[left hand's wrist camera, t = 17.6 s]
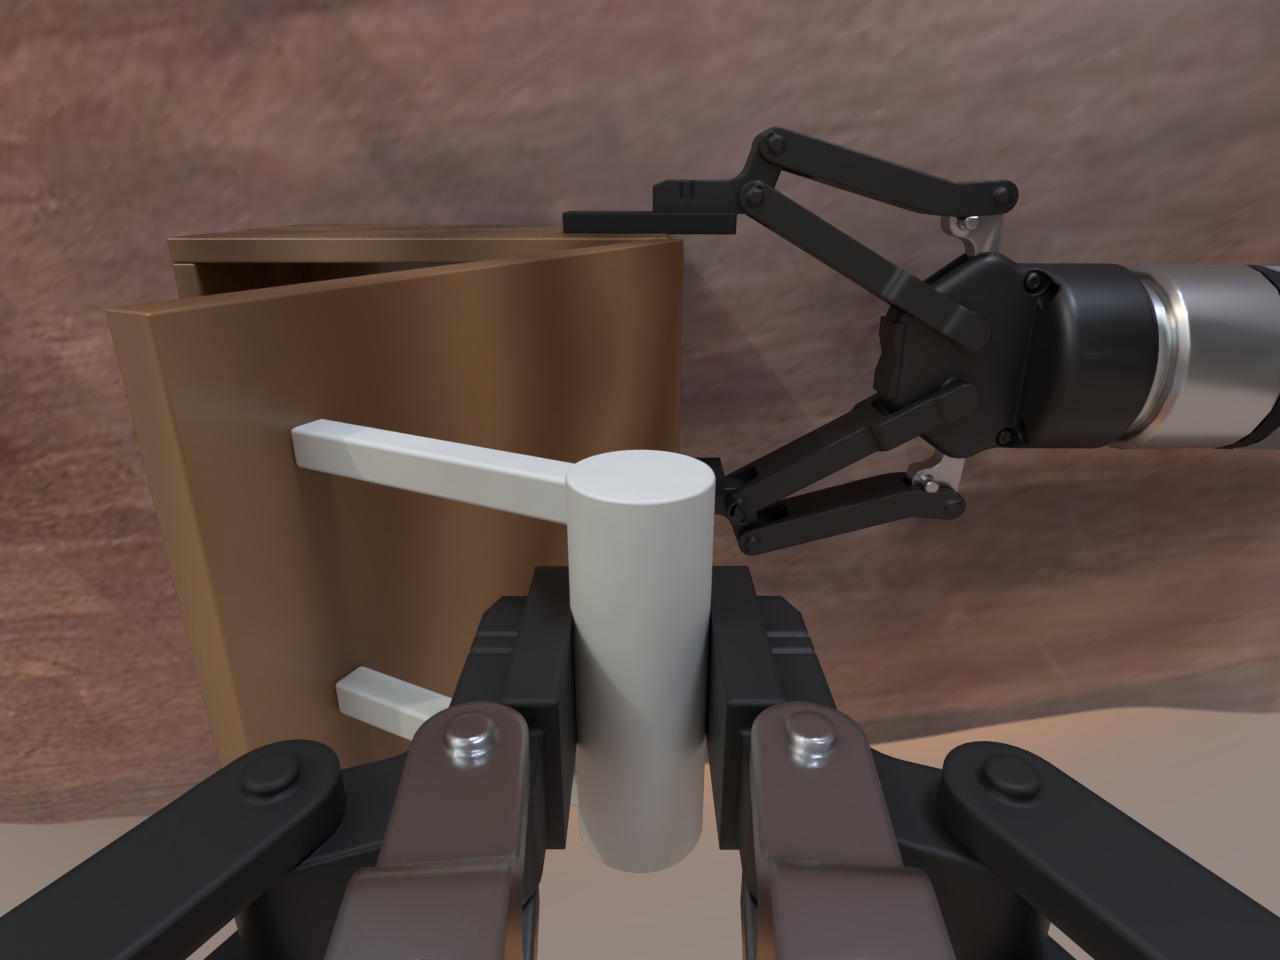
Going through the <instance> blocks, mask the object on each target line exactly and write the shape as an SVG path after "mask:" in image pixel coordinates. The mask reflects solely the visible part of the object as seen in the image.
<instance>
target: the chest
mask: <svg viewBox="0 0 1280 960" xmlns="http://www.w3.org/2000/svg"><path fill="white" fill-rule="evenodd" d="M650 239H669V237H668V235H667V234H593V233H563V225H289V226H279V227H269V228H259V229H249V230H239V231H229V232H219V233H209V234H199V235H188V236H178V237H169V238H167V242H168V247H169V252H170V256H171V260H172V262H174V264H173V270H174V274H175V279H176V284H177V288H178V293H179V298H180V299H183V298H191V297H199V296H207V295H214V294H222V293H230V292H238V291H246V290H254V289H262V288H270V287H278V286H286V285H294V284H302V283H309V282H317V281H325V280H333V279H341V278H349V277H357V276H365V275H373V274H381V273H389V272H397V271H405V270H412V269H420V268H428V267H436V266H444V265H452V264H460V263H468V262H476V261H484V260H492V259H500V258H508V257H515V256H523V255H531V254H539V253H547V252H555V251H563V250H571V249H579V248H587V247H595V246H603V245H610V244H618V243H626V242H634V241H642V240H650Z"/></svg>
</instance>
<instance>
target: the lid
mask: <svg viewBox="0 0 1280 960" xmlns="http://www.w3.org/2000/svg"><path fill="white" fill-rule="evenodd" d="M682 285H683V240H682V239H650V240H642V241H634V242H626V243H618V244H610V245H603V246H595V247H587V248H579V249H571V250H563V251H555V252H547V253H539V254H531V255H523V256H515V257H508V258H500V259H492V260H484V261H476V262H468V263H460V264H452V265H444V266H436V267H428V268H420V269H412V270H405V271H397V272H389V273H381V274H373V275H365V276H357V277H349V278H341V279H333V280H325V281H317V282H309V283H302V284H294V285H286V286H278V287H270V288H262V289H254V290H246V291H238V292H230V293H222V294H214V295H207V296H199V297H191V298H183V299H175V300H167V301H159V302H151V303H143V304H135V305H127V306H119V307H111V308H108V309H106V315H107V319H108V323H109V327H110V331H111V335H112V339H113V343H114V347H115V351H116V355H117V359H118V363H119V367H120V371H121V375H122V379H123V383H124V387H125V391H126V395H127V399H128V403H129V407H130V411H131V415H132V419H133V423H134V427H135V431H136V435H137V438H138V442H139V446H140V450H141V454H142V458H143V462H144V466H145V470H146V474H147V478H148V482H149V486H150V490H151V494H152V498H153V502H154V506H155V510H156V514H157V518H158V522H159V526H160V530H161V534H162V538H163V542H164V546H165V550H166V554H167V557H168V561H169V565H170V569H171V573H172V577H173V581H174V585H175V589H176V593H177V597H178V601H179V605H180V609H181V613H182V617H183V621H184V625H185V629H186V633H187V637H188V641H189V645H190V649H191V653H192V657H193V661H194V665H195V669H196V673H197V676H198V680H199V684H200V688H201V692H202V696H203V700H204V704H205V708H206V712H207V716H208V720H209V724H210V728H211V732H212V736H213V740H214V744H215V748H216V752H217V756H218V760H219V764H220V768H221V769H222V768H223V767H225V766H226V765H228V764H229V763H231V762H232V761H234V760H235V759H237V758H239V757H240V756H242V755H244V754H246V753H248V752H250V751H252V750H254V749H256V748H259V747H262V746H264V745H268V744H271V743H275V742H279V741H285V740H295V739H304V740H313V741H317V742H320V743H323V744H325V745H327V746H328V747H330V748H331V749H332V750H333V751H334V752H335V753H336V755H337V757H338V759H339V764H340V769H346V768H350V767H354V766H359V765H363V764H367V763H372V762H376V761H380V760H384V759H388V758H391V757H394V756H397V755H399V754H402V753H404V752H406V751H407V750H408V749H409V748H410V745H411V742H412V739H413V737H414V734H415V733H416V731H417V730H418V728H419V727H420V726H421V725H422V724H423V723H424V722H425V721H426V720H428V719H429V718H430V717H431V716H433V715H435V714H436V713H438V712H440V711H442V710H444V709H446V708H449V705H450V702H451V700H452V697H453V694H454V691H455V689H456V686H457V683H458V681H459V678H460V675H461V672H462V670H463V667H464V664H465V662H466V659H467V656H468V653H470V648H471V645H472V642H473V640H474V637H476V632H477V629H478V626H479V623H480V621H481V618H482V615H483V613H484V612H485V611H486V610H487V609H488V608H489V607H491V606H492V605H493V604H494V603H495V602H496V601H497V600H499V599H500V598H501V597H502V596H528V592H529V589H530V585H531V581H532V578H533V574H534V570H535V567H536V566H569V587H570V608H571V611H572V619H573V645H574V672H575V699H576V726H577V748H576V757H575V766H574V775H573V784H572V793H571V802H570V804H571V805H574V806H576V807H578V822H579V831H580V836H581V838H582V840H583V842H584V844H585V846H586V847H587V849H588V850H589V851H590V852H591V853H592V855H593V856H595V857H596V858H597V859H598V860H600V861H601V862H603V863H604V864H606V865H608V866H610V867H612V868H615V869H618V870H621V871H626V872H633V873H648V872H655V871H659V870H663V869H666V868H669V867H671V866H673V865H675V864H677V863H678V862H680V861H681V860H683V859H684V858H685V857H686V856H687V855H688V854H689V853H690V852H691V851H692V850H693V848H694V847H695V845H696V844H697V842H698V840H699V838H700V835H701V831H702V817H703V791H704V765H705V740H706V712H707V686H708V660H709V634H710V609H711V585H712V559H713V533H714V507H715V481H716V478H715V474H714V472H713V470H712V469H711V468H710V467H709V466H708V465H707V464H705V463H704V462H702V461H700V460H697V459H695V458H692V457H689V456H686V455H682V454H679V437H680V386H681V336H682Z"/></svg>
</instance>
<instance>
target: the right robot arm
mask: <svg viewBox="0 0 1280 960" xmlns="http://www.w3.org/2000/svg"><path fill="white" fill-rule="evenodd" d="M781 170H782V171H786V172H789V173H792V174H795V175H798V176H801V177H805V178H808V179H811V180H814V181H817V182H820V183H824V184H827V185H830V186H833V187H836V188H839V189H843V190H846V191H849V192H852V193H855V194H858V195H862V196H865V197H868V198H871V199H874V200H877V201H881V202H884V203H887V204H890V205H893V206H896V207H900V208H903V209H906V210H909V211H913V212H917V213H921V214H928V215H938V216H941V228H942V230H943V231H944V233H945V234H947V235H949V236H953V237H957V238H959V239H961V240H962V242H963V243H964V245H965V251H966V253H965V254H963V255H961V256H960V257H958V258H957V259H955V260H954V261H952V262H951V263H949V264H948V265H946V266H945V267H943V268H942V269H940V270H939V271H937V272H936V273H934V274H933V275H931V276H930V277H928V278H927V279H925V280H924V281H921V280H919V279H918V278H916V277H915V276H913V275H911V274H910V273H908V272H906V271H904V270H902V269H900V268H899V267H897V266H895V265H894V264H892V263H891V262H889V261H887V260H886V259H884V258H883V257H881V256H879V255H878V254H876V253H875V252H873V251H872V250H870V249H868V248H867V247H865V246H864V245H862V244H861V243H859V242H857V241H856V240H854V239H853V238H851V237H850V236H848V235H846V234H845V233H843V232H842V231H840V230H838V229H837V228H835V227H834V226H832V225H831V224H829V223H827V222H826V221H824V220H823V219H821V218H820V217H818V216H816V215H815V214H813V213H812V212H810V211H808V210H807V209H805V208H804V207H802V206H801V205H799V204H797V203H796V202H794V201H793V200H791V199H790V198H788V197H786V196H785V195H783V194H782V193H780V192H779V191H777V190H775V189H774V187H775V185H776V182H777V180H778V177H779V175H780V172H781ZM1017 200H1018V189H1017V187H1016V185H1015V184H1014V183H1012V182H1011V181H1007V180H987V181H968V182H952V181H949V180H945V179H942V178H939V177H936V176H933V175H930V174H927V173H924V172H921V171H917V170H914V169H911V168H908V167H905V166H902V165H899V164H896V163H892V162H889V161H886V160H883V159H880V158H877V157H874V156H871V155H868V154H864V153H861V152H858V151H855V150H852V149H849V148H846V147H843V146H839V145H836V144H833V143H830V142H827V141H824V140H821V139H818V138H815V137H811V136H808V135H805V134H802V133H799V132H796V131H793V130H790V129H786V128H783V127H777V126H775V127H772V128H769V129H767V130H765V131H763V132H761V133H760V134H759V135H757V136H756V137H755V139H754V141H753V143H752V148H751V151H750V153H749V156H748V159H747V161H746V164H745V166H744V168H743V170H742V172H741V173H740V174H739V175H738V176H736V177H735V178H733V179H730V180H665V181H663V182H660V183H658V184H656V185H653V211H568V212H564V213H563V233H593V234H736V220H737V214H746V215H747V216H749V217H750V218H752V219H754V220H755V221H757V222H758V223H760V224H762V225H763V226H765V227H766V228H768V229H770V230H771V231H773V232H774V233H776V234H778V235H779V236H781V237H782V238H784V239H786V240H787V241H789V242H791V243H792V244H794V245H795V246H797V247H799V248H800V249H802V250H803V251H805V252H807V253H808V254H810V255H811V256H813V257H815V258H816V259H818V260H819V261H821V262H823V263H824V264H826V265H827V266H829V267H831V268H832V269H834V270H836V271H837V272H839V273H840V274H842V275H844V276H845V277H847V278H848V279H850V280H852V281H853V282H855V283H856V284H858V285H860V286H861V287H863V288H864V289H866V290H867V291H869V292H870V293H872V294H873V295H875V296H876V297H878V298H880V299H881V300H883V301H885V302H886V303H888V304H889V305H891V307H890V308H889V310H888V311H887V313H886V316H881V321H880V330H879V337H880V343H881V350H882V353H881V356H880V359H879V361H878V364H877V367H876V369H875V374H874V383H873V388H874V389H875V390H876V391H877V394H875V395H873V396H871V397H869V398H867V399H865V400H863V401H861V402H859V403H858V404H856V405H855V406H854V407H853V409H852V410H851V411H850V412H848V413H847V414H845V415H843V416H841V417H839V418H837V419H835V420H833V421H831V422H829V423H827V424H825V425H823V426H821V427H820V428H818V429H816V430H814V431H812V432H810V433H808V434H806V435H804V436H802V437H800V438H798V439H796V440H794V441H792V442H791V443H789V444H787V445H785V446H783V447H781V448H779V449H777V450H775V451H773V452H771V453H769V454H767V455H765V456H763V457H762V458H760V459H758V460H756V461H754V462H752V463H750V464H748V465H746V466H744V467H742V468H740V469H738V470H736V471H734V472H732V473H731V474H729V475H727V476H726V477H725V476H724V472H723V468H722V464H721V461H720V458H695V459H697V460H700V461H702V462H704V463H705V464H707V465H708V466H709V467H710V468H711V469H712V470H713V472H714V474H715V478H716V481H715V507H714V514H720V515H723V516H725V517H726V518H727V519H728V520H729V521H730V522H731V524H732V527H733V530H734V533H735V536H736V538H737V541H738V545H739V548H740V550H741V551H742V552H743V553H744V554H746V555H750V556H751V555H758V554H762V553H766V552H770V551H774V550H778V549H782V548H786V547H791V546H795V545H799V544H803V543H807V542H811V541H815V540H819V539H823V538H827V537H831V536H835V535H839V534H843V533H847V532H851V531H855V530H859V529H863V528H867V527H871V526H875V525H880V524H884V523H888V522H892V521H896V520H900V519H904V518H908V517H919V518H933V519H948V520H949V519H955V518H957V517H959V516H960V515H961V514H962V513H963V512H964V510H965V506H966V503H965V500H964V498H963V497H962V496H961V495H960V494H959V493H958V488H959V484H960V479H961V475H962V471H963V467H964V463H965V459H966V458H967V457H971V456H973V455H975V454H977V453H979V452H981V451H984V450H987V449H990V448H996V447H1004V448H1099V447H1103V446H1105V445H1107V446H1109V447H1112V448H1118V449H1171V448H1216V449H1233V448H1244V449H1280V266H1258V265H1224V264H1134V265H1131V266H1128V267H1126V268H1125V267H1123V266H1121V265H1117V264H1024V263H1016V262H1014V261H1012V260H1010V259H1009V258H1007V257H1006V256H1004V255H1002V254H1000V247H1001V237H1002V227H1003V216H1004V213H1007V212H1009V211H1010V210H1011V209H1013V207H1014V206H1015V204H1016V203H1017ZM917 436H920V437H921V438H923V439H924V440H925V441H927V442H928V443H929V444H930V445H932V446H933V447H934V448H936V450H935V453H934V454H933V456H932V457H931V458H929V459H928V460H926V461H922V462H916V463H912V464H911V465H909V467H908V470H907V472H896V473H887V474H882V475H877V476H874V477H870V478H866V479H862V480H858V481H854V482H850V483H846V484H842V485H838V486H834V487H830V488H826V489H822V490H819V491H815V492H811V493H807V494H803V495H799V496H795V497H791V498H787V499H783V498H785V497H787V496H789V495H791V494H793V493H795V492H797V491H799V490H801V489H803V488H805V487H807V486H809V485H810V484H812V483H814V482H816V481H818V480H820V479H822V478H824V477H826V476H828V475H830V474H832V473H834V472H836V471H838V470H840V469H842V468H844V467H846V466H848V465H850V464H852V463H854V462H856V461H858V460H860V459H862V458H864V457H866V456H868V455H870V454H872V453H874V452H877V451H888V450H891V449H893V448H895V447H897V446H899V445H901V444H903V443H905V442H907V441H909V440H911V439H913V438H915V437H917ZM781 499H783V500H781Z"/></svg>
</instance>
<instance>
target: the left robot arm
mask: <svg viewBox="0 0 1280 960" xmlns="http://www.w3.org/2000/svg"><path fill="white" fill-rule="evenodd" d="M706 739H707V748H708V756H709V765H710V773H711V781H712V789H713V798H714V806H715V815H716V823H717V832H718V840H719V848H720V850H739V851H740V857H741V864H742V885H741V927H742V950H743V960H1076V959H1075V958H1074V957H1073V956H1072V955H1070V954H1069V953H1068V952H1067V951H1066V950H1065V949H1064V948H1062V947H1061V946H1060V945H1059V944H1058V943H1057V942H1056V941H1054V940H1053V939H1052V938H1051V937H1050V936H1049V935H1048V930H1049V926H1050V923H1053V924H1054V925H1055V926H1056V927H1057V928H1058V929H1060V930H1061V931H1062V932H1063V933H1064V934H1065V935H1067V936H1068V937H1069V938H1070V939H1071V940H1072V941H1074V942H1075V943H1076V944H1077V945H1078V946H1079V947H1081V948H1082V949H1083V950H1084V951H1085V952H1086V953H1088V954H1089V955H1090V956H1091V957H1092V958H1094V959H1095V960H1280V917H1278V916H1277V915H1275V914H1274V913H1272V912H1271V911H1269V910H1268V909H1266V908H1265V907H1263V906H1262V905H1260V904H1259V903H1257V902H1256V901H1254V900H1253V899H1251V898H1250V897H1248V896H1247V895H1245V894H1244V893H1242V892H1241V891H1240V890H1238V889H1237V888H1235V887H1234V886H1232V885H1231V884H1229V883H1228V882H1226V881H1225V880H1223V879H1222V878H1220V877H1219V876H1217V875H1216V874H1214V873H1213V872H1211V871H1210V870H1208V869H1207V868H1205V867H1204V866H1202V865H1201V864H1199V863H1198V862H1196V861H1195V860H1193V859H1192V858H1190V857H1189V856H1187V855H1186V854H1184V853H1183V852H1182V851H1180V850H1178V849H1177V848H1176V847H1174V846H1173V845H1171V844H1170V843H1168V842H1167V841H1165V840H1164V839H1162V838H1161V837H1159V836H1158V835H1156V834H1155V833H1153V832H1152V831H1150V830H1149V829H1147V828H1146V827H1144V826H1143V825H1141V824H1140V823H1138V822H1137V821H1135V820H1134V819H1132V818H1131V817H1129V816H1128V815H1126V814H1125V813H1123V812H1122V811H1121V810H1119V809H1117V808H1116V807H1115V806H1113V805H1112V804H1110V803H1109V802H1107V801H1106V800H1104V799H1103V798H1101V797H1100V796H1098V795H1097V794H1095V793H1094V792H1092V791H1091V790H1089V789H1088V788H1086V787H1085V786H1083V785H1082V784H1080V783H1079V782H1077V781H1076V780H1074V779H1073V778H1071V777H1070V776H1068V775H1067V774H1065V773H1064V772H1062V771H1061V770H1060V769H1058V768H1057V767H1055V766H1054V765H1052V764H1051V763H1049V762H1047V761H1046V760H1044V759H1042V758H1041V757H1039V756H1037V755H1035V754H1033V753H1031V752H1029V751H1026V750H1024V749H1021V748H1019V747H1015V746H1012V745H1008V744H1004V743H998V742H989V741H978V742H970V743H965V744H962V745H960V746H957V747H956V748H954V749H953V750H951V751H950V752H949V753H948V754H947V756H946V758H945V760H944V764H943V769H938V768H934V767H930V766H925V765H921V764H917V763H912V762H908V761H904V760H900V759H897V758H893V757H891V756H888V755H885V754H883V753H880V752H878V751H876V750H874V749H872V748H871V747H870V745H869V742H868V739H867V737H866V734H865V733H864V731H863V730H862V728H861V727H860V726H859V725H858V724H857V723H856V722H855V721H854V720H852V719H851V718H850V717H849V716H847V715H845V714H844V713H842V712H840V711H838V710H837V708H836V705H835V703H834V700H833V697H832V695H831V692H830V690H829V687H828V684H827V682H826V679H825V676H824V674H823V671H822V668H821V666H820V663H819V660H818V658H817V655H816V654H815V653H814V647H813V644H812V642H811V639H810V637H808V631H807V629H806V626H805V623H804V621H803V618H802V615H801V613H800V612H799V611H798V610H797V609H795V608H794V607H793V606H792V605H791V604H790V603H789V602H787V601H786V600H785V599H784V598H783V597H782V596H756V592H755V589H754V585H753V581H752V578H751V574H750V571H749V568H748V566H712V585H711V609H710V634H709V660H708V686H707V712H706ZM576 748H577V726H576V699H575V672H574V645H573V619H572V611H571V608H570V587H569V566H536V567H535V570H534V574H533V578H532V581H531V585H530V589H529V592H528V596H502V597H501V598H500V599H499V600H497V601H496V602H495V603H494V604H493V605H492V606H491V607H489V608H488V609H487V610H486V611H485V612H484V613H483V615H482V618H481V621H480V623H479V626H478V629H477V632H476V637H474V640H473V642H472V645H471V648H470V653H468V656H467V659H466V662H465V664H464V667H463V670H462V672H461V675H460V678H459V681H458V683H457V686H456V689H455V691H454V694H453V697H452V700H451V702H450V705H449V708H446V709H444V710H442V711H440V712H438V713H436V714H435V715H433V716H431V717H430V718H429V719H428V720H426V721H425V722H424V723H423V724H422V725H421V726H420V727H419V728H418V730H417V731H416V733H415V734H414V737H413V739H412V742H411V745H410V749H409V750H408V751H406V752H404V753H402V754H399V755H397V756H394V757H391V758H388V759H384V760H380V761H376V762H372V763H367V764H363V765H359V766H354V767H350V768H346V769H340V764H339V759H338V757H337V755H336V753H335V752H334V751H333V750H332V749H331V748H330V747H328V746H327V745H325V744H323V743H320V742H317V741H313V740H304V739H295V740H285V741H279V742H275V743H271V744H268V745H264V746H262V747H259V748H256V749H254V750H252V751H250V752H248V753H246V754H244V755H242V756H240V757H239V758H237V759H235V760H234V761H232V762H231V763H229V764H228V765H226V766H225V767H223V768H222V769H220V770H219V771H217V772H216V773H215V774H213V775H212V776H210V777H209V778H207V779H206V780H204V781H203V782H201V783H200V784H198V785H197V786H195V787H194V788H192V789H191V790H189V791H188V792H186V793H185V794H183V795H182V796H180V797H179V798H177V799H176V800H174V801H173V802H171V803H170V804H168V805H167V806H165V807H164V808H162V809H161V810H159V811H158V812H156V813H155V814H154V815H152V816H151V817H149V818H148V819H146V820H145V821H143V822H142V823H140V824H139V825H137V826H136V827H134V828H133V829H131V830H130V831H128V832H127V833H125V834H124V835H122V836H121V837H119V838H118V839H116V840H115V841H113V842H112V843H110V844H109V845H107V846H106V847H104V848H103V849H101V850H100V851H98V852H97V853H95V854H94V855H93V856H91V857H90V858H88V859H87V860H85V861H84V862H82V863H81V864H79V865H78V866H76V867H75V868H73V869H72V870H70V871H69V872H67V873H66V874H64V875H63V876H61V877H60V878H58V879H57V880H55V881H54V882H52V883H51V884H49V885H48V886H46V887H45V888H43V889H42V890H40V891H39V892H37V893H36V894H34V895H33V896H32V897H30V898H29V899H27V900H26V901H24V902H23V903H21V904H20V905H18V906H17V907H15V908H14V909H12V910H11V911H9V912H8V913H6V914H5V915H3V916H2V917H0V960H185V959H187V958H188V957H189V956H190V955H191V954H192V953H194V952H195V951H196V950H197V949H198V948H199V947H201V946H202V945H203V944H204V943H205V942H206V941H207V940H209V939H210V938H211V937H212V936H213V935H214V934H216V933H217V932H218V931H219V930H220V929H221V928H223V927H224V926H225V925H226V924H227V923H229V922H230V921H231V920H232V919H233V918H234V917H235V921H236V925H237V929H238V930H237V931H236V932H235V933H234V934H232V935H231V936H230V937H229V938H228V939H227V940H226V941H224V942H223V943H222V944H221V945H220V946H219V947H218V948H216V949H215V950H214V951H213V952H212V953H211V954H210V955H208V956H207V957H206V958H205V959H204V960H537V949H538V925H539V886H538V885H539V883H540V881H541V877H542V872H543V865H544V858H545V851H546V849H565V846H566V837H567V828H568V819H569V810H570V802H571V793H572V784H573V775H574V766H575V757H576Z"/></svg>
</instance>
